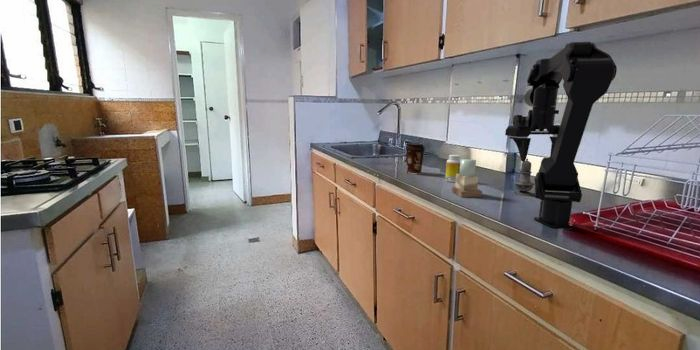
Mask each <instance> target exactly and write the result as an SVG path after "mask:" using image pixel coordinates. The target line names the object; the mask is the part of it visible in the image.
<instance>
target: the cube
mask: <svg viewBox="0 0 700 350" xmlns="http://www.w3.org/2000/svg"><path fill="white" fill-rule="evenodd" d="M478 184H479V176H478V175H476V174H475V176H472V177H467V176H461V175H459V174H456V182H455V186H454V187H456V188H458V189H461V190H463V191H467V190H477V189H478V186H479V185H478Z"/></svg>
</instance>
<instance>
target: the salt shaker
mask: <svg viewBox="0 0 700 350" xmlns="http://www.w3.org/2000/svg"><path fill="white" fill-rule="evenodd" d="M521 162H522V161H521ZM519 174H520V175H519V180H517V181H514V184H515V188H516V189H517V190H516V191H514V194H515V195H519V196H525V197H526V196H527V197H528V196H533V193H532V192H530V191H531V190H532V189H533V187H534V186H535V183H534V182H531V174H532V162H531V161H529V158H526V160H525V162H522V163H521V168H520V170H519Z"/></svg>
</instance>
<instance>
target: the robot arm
mask: <svg viewBox="0 0 700 350" xmlns="http://www.w3.org/2000/svg"><path fill="white" fill-rule="evenodd" d="M617 69H618V68H617V65H616V63H615V61H614V60H613V58H612V56H611V55H610V54H609V53H607V52H605V51H603V50H602V49H599V48H597V46H596V44H595V43H594V42H592V41H570V43H569V42H568V43H566V44H565V46H564V48H562V49H561V50H559V52H557V53H555V54H554V55H553V56H551V57H548V58H540V59H538V60H536V61H535V64H533V65H532V67H531V68H530V71H529V73H528V76H527V78H526V83H527V87H531V88H530V89H528V90H526V92H525V94H524V95H523V96H524V97H523V99H524V102H525V104H526V105H527V106H529V107H532V109H529V111H528V114H527V115H526V116H523V115H521V114H515V115H514V116H512V117H513V118H512V125H508V126H507V128H506V129H505V133H504V135H505V136H507V137H508V138H509V139H511V140H512V141H513V142H514V143H515V144H516V146H517V149H518V153H519V157H520V161H521V162H525V161H526V159H527V158H528V157H527V156H528V153H529V148H530V144H531V140H532V138H531V137H529V136H531V135H552V136H549V139H550V141H551V144H550V145H551V147H550V155H549V156H548V157H543V158H542V159H541V162H540V166H539V169H538V172H536V174H535V177H534V179H533V180H534V182H533V183H534V193H535V194H534V198H535V199H539V200H541V201H540V205H539V206H540V207H539V215H538V216H534V217H533V220H535V221H537V222H539V223H541V224H542V225H545V226H548V227H549V228H567V227H568V228H569V227H570V225H569V223H568V222H569V221H571V220H570V219H571V214H572V206H573V203H574V202H575V203H580V202H581V200H582V196H583V194H582V189H581V185H580V181H579V179H578V177H579V172H578V170H577V168H576V165H575V160H576V158H577V157H576V156H577V154H578V151H579V147H580V145H581V142H582V138H583V135H584V132H585V130H586V127H587V123H588V121H589V117H590V114H591V111H592V108H593V105H594V104H595V103H596V102H597V101H599V100H600V99H601V98H602V97H603V96H604V95H605V94H606V93H607V92H608V90H609V88H610V86H611V83H612V82H613V81H614V79H615V77H616V75H617ZM562 80H563V83H562V87H563V89H564V92H565V94H566V97H567V100H566V104H565V108H564V111H563V114H562V117H561V122H560V125H557V124H555V118H556V115H559V112H560V110H559V109H557V101H558V93H559V89H560V84H561V82H562Z"/></svg>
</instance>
